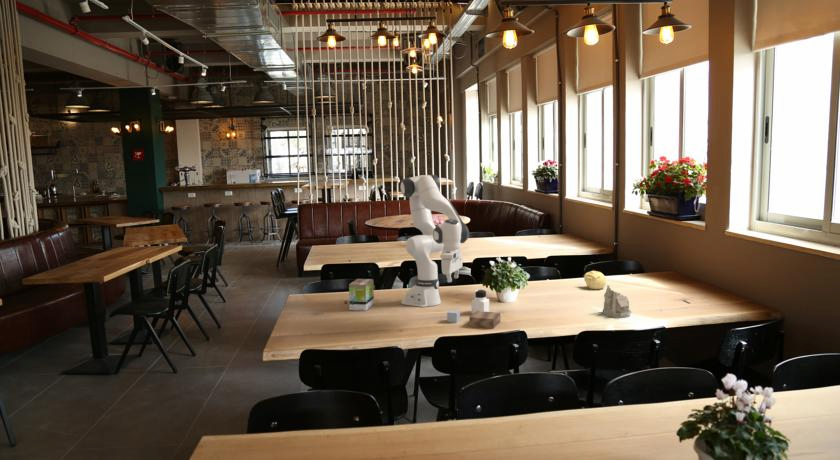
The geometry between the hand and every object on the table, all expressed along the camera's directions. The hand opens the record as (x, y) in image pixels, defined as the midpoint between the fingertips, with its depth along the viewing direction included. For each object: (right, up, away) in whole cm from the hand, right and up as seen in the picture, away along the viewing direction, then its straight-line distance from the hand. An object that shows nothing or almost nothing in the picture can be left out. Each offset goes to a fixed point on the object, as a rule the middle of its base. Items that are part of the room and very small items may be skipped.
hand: (452, 280), depth 303 cm
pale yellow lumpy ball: (+89, -11, +65) cm, 111 cm away
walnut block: (+16, -22, -4) cm, 27 cm away
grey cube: (+1, -21, +3) cm, 21 cm away
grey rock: (+85, -18, +8) cm, 88 cm away
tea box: (-48, -18, +35) cm, 63 cm away
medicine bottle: (+15, -19, +17) cm, 30 cm away
